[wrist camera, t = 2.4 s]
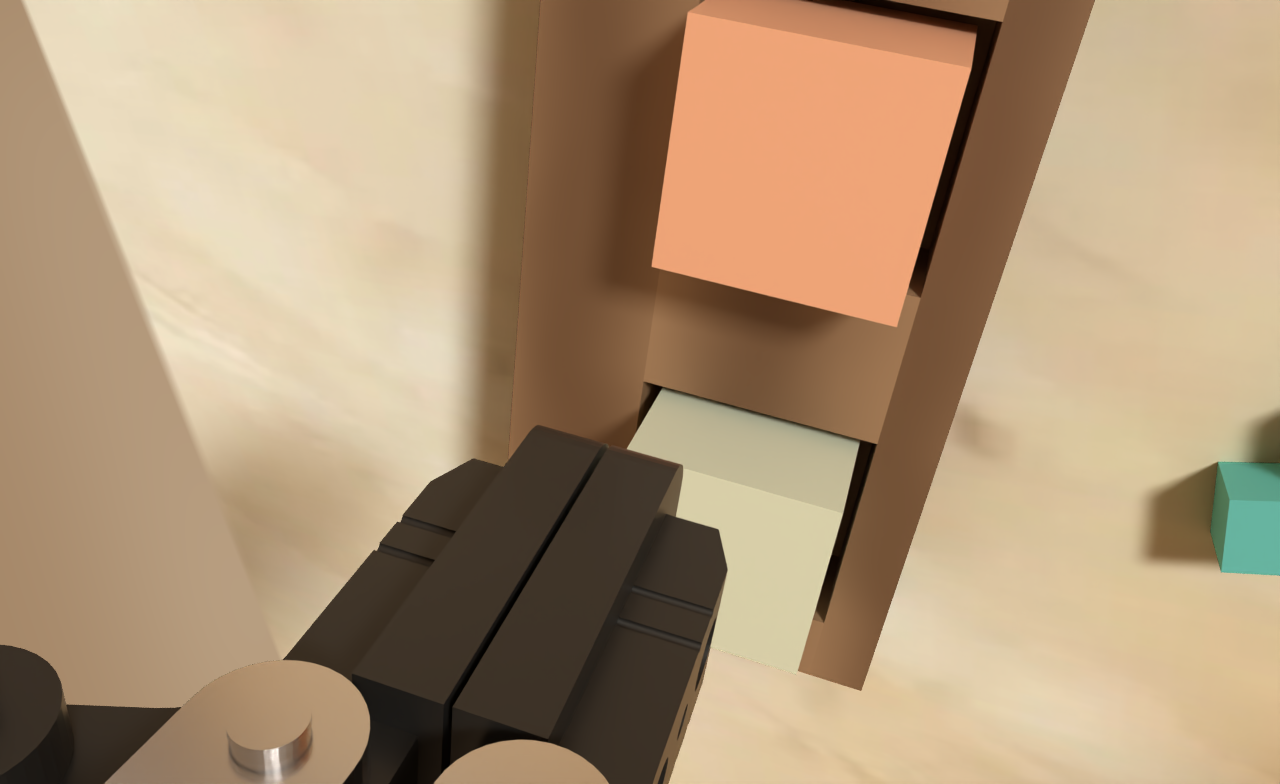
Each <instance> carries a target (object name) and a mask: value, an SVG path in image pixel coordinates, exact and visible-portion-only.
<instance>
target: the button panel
mask: <svg viewBox="0 0 1280 784" xmlns="http://www.w3.org/2000/svg"><path fill="white" fill-rule="evenodd" d="M703 1H705V0H540V13H539V27H538V42H537V56H536V70H535V84H534V98H533V112H532V127H531V141H530V155H529V169H528V183H527V197H526V211H525V226H524V240H523V254H522V268H521V282H520V296H519V310H518V325H517V339H516V353H515V367H514V381H513V395H512V409H511V424H510V438H509V452H508V460H509V459H510V458H511V456H512V455H513V454H514V452H515V451H516V449H517V448H518V447H519V445H520V444H521V443H522V441H523V440H524V439H525V437H526V436H527V435H528V433H529V432H530V431H531V430H532V428H534V427H535V426H536V425H541V426H545V427H548V428H552V429H556V430H559V431H563V432H566V433H570V434H573V435H577V436H581V437H584V438H588V439H591V440H595V441H598V442H602V443H606V444H608V445H609V447H610V446H612V445H614V446H617V447H621V448H625V449H627V448H628V446H629V444H630V442H631V441H632V439H633V437H634V436H635V434H636V432H637V431H638V429H639V427H640V425H641V424H642V422H643V420H644V419H645V417H646V415H647V413H648V412H649V410H650V408H651V407H652V405H653V403H654V402H655V400H656V398H657V396H658V395H659V393H660V391H661V390H662V388H663V387H667V388H670V389H674V390H678V391H682V392H685V393H689V394H693V395H697V396H700V397H704V398H708V399H711V400H715V401H719V402H723V403H726V404H730V405H734V406H737V407H741V408H745V409H749V410H752V411H756V412H760V413H763V414H767V415H771V416H775V417H778V418H782V419H786V420H789V421H793V422H797V423H801V424H804V425H808V426H812V427H815V428H819V429H823V430H827V431H830V432H834V433H838V434H841V435H845V436H849V437H853V438H856V439H860V444H859V448H858V452H857V456H856V461H855V465H854V469H853V473H852V478H851V482H850V486H849V490H848V495H847V499H846V503H845V507H844V512H843V516H842V519H841V522H840V526H839V529H838V533H837V536H836V540H835V543H834V547H833V550H832V554H831V557H830V561H829V564H828V568H827V571H826V574H825V578H824V581H823V585H822V588H821V592H820V595H819V599H818V602H817V606H816V609H815V613H814V616H813V620H812V623H811V627H810V630H809V633H808V637H807V640H806V644H805V647H804V651H803V654H802V658H801V661H800V665H799V668H798V671H800V672H803V673H806V674H809V675H812V676H816V677H819V678H822V679H825V680H828V681H831V682H835V683H838V684H841V685H844V686H847V687H851V688H854V689H857V690H860V691H861V690H862V687H863V684H864V681H865V678H866V675H867V672H868V669H869V666H870V663H871V660H872V657H873V655H874V652H875V649H876V646H877V643H878V640H879V637H880V634H881V631H882V628H883V625H884V622H885V619H886V616H887V613H888V610H889V607H890V604H891V601H892V598H893V595H894V593H895V590H896V587H897V584H898V581H899V578H900V575H901V572H902V569H903V566H904V563H905V560H906V557H907V554H908V551H909V548H910V545H911V542H912V539H913V536H914V533H915V530H916V528H917V525H918V522H919V519H920V516H921V513H922V510H923V507H924V504H925V501H926V498H927V495H928V492H929V489H930V486H931V483H932V480H933V477H934V474H935V471H936V468H937V465H938V463H939V460H940V457H941V454H942V451H943V448H944V445H945V442H946V439H947V436H948V433H949V430H950V427H951V424H952V421H953V418H954V415H955V412H956V409H957V406H958V403H959V400H960V398H961V395H962V392H963V389H964V386H965V383H966V380H967V377H968V374H969V371H970V368H971V365H972V362H973V359H974V356H975V353H976V350H977V347H978V344H979V341H980V338H981V335H982V333H983V330H984V327H985V324H986V321H987V318H988V315H989V312H990V309H991V306H992V303H993V300H994V297H995V294H996V291H997V288H998V285H999V282H1000V279H1001V276H1002V273H1003V270H1004V268H1005V265H1006V262H1007V259H1008V256H1009V253H1010V250H1011V247H1012V244H1013V241H1014V238H1015V235H1016V232H1017V229H1018V226H1019V223H1020V220H1021V217H1022V214H1023V211H1024V208H1025V205H1026V203H1027V200H1028V197H1029V194H1030V191H1031V188H1032V185H1033V182H1034V179H1035V176H1036V173H1037V170H1038V167H1039V164H1040V161H1041V158H1042V155H1043V152H1044V149H1045V146H1046V143H1047V140H1048V138H1049V135H1050V132H1051V129H1052V126H1053V123H1054V120H1055V117H1056V114H1057V111H1058V108H1059V105H1060V102H1061V99H1062V96H1063V93H1064V90H1065V87H1066V84H1067V81H1068V78H1069V75H1070V73H1071V70H1072V67H1073V64H1074V61H1075V58H1076V55H1077V52H1078V49H1079V46H1080V43H1081V40H1082V37H1083V34H1084V31H1085V28H1086V25H1087V22H1088V19H1089V16H1090V13H1091V10H1092V8H1093V5H1094V2H1095V0H845V1H850V2H855V3H861V4H866V5H871V6H876V7H882V8H887V9H892V10H897V11H903V12H908V13H913V14H919V15H924V16H929V17H934V18H940V19H945V20H950V21H956V22H961V23H966V24H971V25H977V26H978V28H977V34H976V41H975V48H974V55H973V61H972V68H971V72H970V75H969V78H968V82H967V85H966V89H965V92H964V96H963V99H962V103H961V106H960V110H959V113H958V117H957V120H956V124H955V127H954V130H953V134H952V137H951V141H950V144H949V148H948V151H947V155H946V158H945V162H944V165H943V169H942V172H941V176H940V179H939V183H938V186H937V189H936V193H935V196H934V200H933V203H932V207H931V210H930V214H929V217H928V221H927V224H926V228H925V231H924V235H923V238H922V241H921V245H920V248H919V252H918V255H917V259H916V262H915V266H914V269H913V273H912V276H911V280H910V283H909V287H908V290H907V294H906V297H905V300H904V304H903V307H902V311H901V314H900V318H899V321H898V325H897V327H893V326H889V325H885V324H881V323H877V322H873V321H869V320H865V319H861V318H857V317H853V316H849V315H845V314H841V313H837V312H833V311H829V310H825V309H820V308H816V307H812V306H808V305H804V304H800V303H796V302H792V301H788V300H784V299H780V298H776V297H772V296H768V295H764V294H760V293H756V292H752V291H748V290H744V289H739V288H735V287H731V286H727V285H723V284H719V283H715V282H711V281H707V280H703V279H699V278H695V277H691V276H687V275H683V274H679V273H675V272H671V271H667V270H663V269H658V268H654V267H652V260H653V253H654V246H655V239H656V232H657V225H658V218H659V211H660V204H661V197H662V190H663V183H664V176H665V168H666V161H667V154H668V147H669V140H670V133H671V126H672V119H673V112H674V105H675V98H676V91H677V84H678V77H679V70H680V63H681V56H682V49H683V42H684V35H685V28H686V21H687V14H688V12H689V11H690V10H692V9H693V8H695V7H696V6H698V5H699V4H700V3H702V2H703Z"/></svg>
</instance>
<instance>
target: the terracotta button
mask: <svg viewBox="0 0 1280 784" xmlns="http://www.w3.org/2000/svg"><path fill="white" fill-rule="evenodd" d="M977 28H978V26H977V25H971V24H966V23H961V22H956V21H950V20H945V19H940V18H934V17H929V16H924V15H919V14H913V13H908V12H903V11H897V10H892V9H887V8H882V7H876V6H871V5H866V4H861V3H855V2H850V1H845V0H705V1H703V2H702V3H700V4H699V5H698V6H696V7H695V8H693V9H692V10H690V11H689V12H688V14H687V21H686V28H685V35H684V42H683V49H682V56H681V63H680V70H679V77H678V84H677V91H676V98H675V105H674V112H673V119H672V126H671V133H670V140H669V147H668V154H667V161H666V168H665V176H664V183H663V190H662V197H661V204H660V211H659V218H658V225H657V232H656V239H655V246H654V253H653V260H652V267H654V268H658V269H663V270H667V271H671V272H675V273H679V274H683V275H687V276H691V277H695V278H699V279H703V280H707V281H711V282H715V283H719V284H723V285H727V286H731V287H735V288H739V289H744V290H748V291H752V292H756V293H760V294H764V295H768V296H772V297H776V298H780V299H784V300H788V301H792V302H796V303H800V304H804V305H808V306H812V307H816V308H820V309H825V310H829V311H833V312H837V313H841V314H845V315H849V316H853V317H857V318H861V319H865V320H869V321H873V322H877V323H881V324H885V325H889V326H893V327H897V325H898V321H899V318H900V314H901V311H902V307H903V304H904V300H905V297H906V294H907V290H908V287H909V283H910V280H911V276H912V273H913V269H914V266H915V262H916V259H917V255H918V252H919V248H920V245H921V241H922V238H923V235H924V231H925V228H926V224H927V221H928V217H929V214H930V210H931V207H932V203H933V200H934V196H935V193H936V189H937V186H938V183H939V179H940V176H941V172H942V169H943V165H944V162H945V158H946V155H947V151H948V148H949V144H950V141H951V137H952V134H953V130H954V127H955V124H956V120H957V117H958V113H959V110H960V106H961V103H962V99H963V96H964V92H965V89H966V85H967V82H968V78H969V75H970V72H971V68H972V61H973V55H974V48H975V41H976V34H977Z"/></svg>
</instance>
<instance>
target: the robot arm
mask: <svg viewBox="0 0 1280 784" xmlns="http://www.w3.org/2000/svg"><path fill="white" fill-rule="evenodd" d="M682 480H683V465H682V464H678V463H675V462H671V461H667V460H664V459H660V458H657V457H653V456H650V455H646V454H642V453H639V452H635V451H632V450H628V449H625V448H621V447H617V446H614V445H612V446H610V447H609V445H608V444H606V443H602V442H598V441H595V440H591V439H588V438H584V437H581V436H577V435H573V434H570V433H566V432H563V431H559V430H556V429H552V428H548V427H545V426H541V425H536V426H535V427H534V428H532V430H531V431H530V432H529V433H528V435H527V436H526V437H525V439H524V440H523V441H522V443H521V444H520V445H519V447H518V448H517V449H516V451H515V452H514V454H513V455H512V456H511V458H510V459H509V460H508V462H507V463H506V464H505V466H504V467H501V466H498V465H494V464H491V463H487V462H484V461H480V460H477V459H471V460H470V461H468V462H466V463H464V464H462V465H460V466H458V467H457V468H455V469H453V470H451V471H449V472H447V473H445V474H444V475H442V476H440V477H438V478H436V479H434V480H432V481H431V482H430V483H429V484H428V485H427V486H426V487H425V489H424V490H423V491H422V492H421V494H420V495H419V496H418V497H417V498H416V500H415V501H414V502H413V503H412V504H411V506H410V507H409V508H408V509H407V510H406V512H405V513H404V514H403V517H402V520H401V522H397V523H396V524H395V525H394V526H393V527H392V529H391V530H390V531H389V532H388V533H387V535H386V536H385V537H384V538H383V540H382V541H381V542H380V545H379V548H378V550H377V551H375V550H373V552H372V553H371V554H370V555H369V556H368V558H367V559H366V560H365V561H364V563H363V564H362V565H361V566H360V567H359V569H358V570H357V571H356V572H355V573H354V575H353V576H352V577H351V578H350V580H349V581H348V582H347V583H346V584H345V586H344V587H343V588H342V589H341V590H340V592H339V593H338V594H337V595H336V596H335V598H334V599H333V600H332V601H331V603H330V604H329V605H328V606H327V607H326V609H325V610H324V611H323V612H322V613H321V615H320V616H319V617H318V618H317V619H316V621H315V622H314V623H313V624H312V626H311V627H310V628H309V629H308V630H307V632H306V633H305V634H304V635H303V636H302V638H301V639H300V640H299V641H298V642H297V644H296V645H295V646H294V647H293V649H292V650H291V651H290V652H289V653H288V655H287V656H286V657H285V658H284V659H283V660H278V661H267V662H262V663H257V664H252V665H248V666H245V667H243V668H240V669H237V670H234V671H232V672H229V673H227V674H225V675H223V676H221V677H219V678H218V679H216V680H214V681H213V682H211V683H209V684H208V685H206V686H205V687H203V688H202V689H201V690H200V691H199V692H197V693H196V694H195V695H194V696H193V697H192V698H191V699H190V700H189V701H187V703H186V704H184V705H183V706H182V707H177V708H139V707H113V706H112V707H111V706H90V705H89V706H88V705H66V702H65V698H64V693H63V689H62V685H61V681H60V679H59V677H58V675H57V673H56V671H55V670H54V669H53V667H52V666H51V665H50V664H49V663H48V662H47V661H46V660H44V659H43V658H41V657H40V656H38V655H37V654H35V653H32V652H30V651H27V650H25V649H21V648H17V647H13V646H6V645H0V784H668V783H669V780H670V777H671V774H672V771H673V768H674V765H675V761H676V759H677V757H678V754H679V751H680V748H681V745H682V742H683V739H684V736H685V733H686V729H687V726H688V724H689V721H690V718H691V715H692V712H693V709H694V706H695V703H696V700H697V697H698V694H699V691H700V688H701V685H702V682H703V678H704V674H705V669H706V665H707V660H708V656H709V651H710V647H711V643H712V638H713V634H714V629H715V625H716V620H717V616H718V611H719V607H720V603H721V598H722V594H723V589H724V585H725V580H726V576H727V572H728V568H727V563H726V559H725V555H724V550H723V546H722V541H721V537H720V533H719V529H716V528H713V527H709V526H706V525H702V524H699V523H695V522H692V521H689V520H685V519H682V518H678V517H676V513H677V508H678V502H679V497H680V491H681V486H682Z"/></svg>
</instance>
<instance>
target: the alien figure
mask: <svg viewBox="0 0 1280 784" xmlns="http://www.w3.org/2000/svg"><path fill="white" fill-rule="evenodd" d="M1210 533H1211V536H1212V540H1213V544H1214V547H1215V551H1216V555H1217V559H1218V562H1219V566H1220V570H1221V572H1226V573H1244V574H1261V575H1279V576H1280V463H1247V462H1218V467H1217V476H1216V484H1215V493H1214V502H1213V511H1212V520H1211V529H1210Z"/></svg>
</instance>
